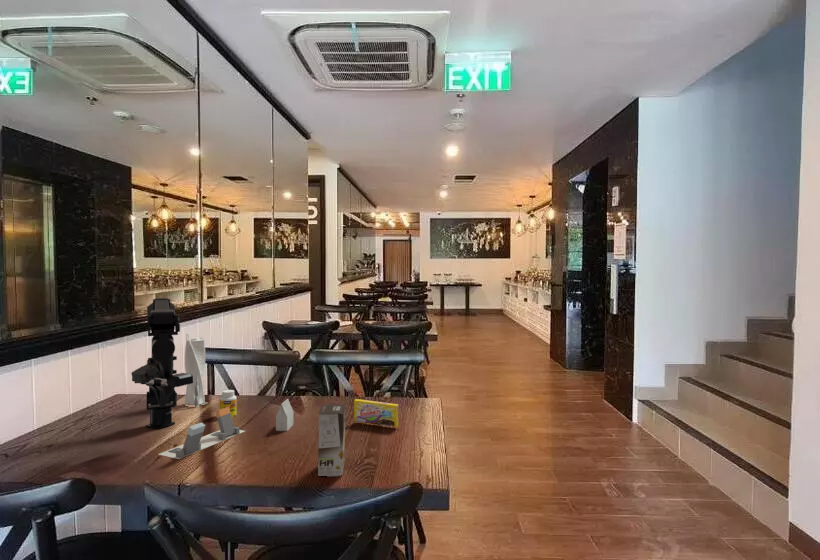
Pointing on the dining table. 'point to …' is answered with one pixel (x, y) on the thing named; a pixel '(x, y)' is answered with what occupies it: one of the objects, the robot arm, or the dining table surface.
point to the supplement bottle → (229, 401)
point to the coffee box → (331, 440)
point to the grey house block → (284, 417)
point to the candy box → (376, 412)
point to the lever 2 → (225, 421)
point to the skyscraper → (195, 370)
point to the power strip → (201, 443)
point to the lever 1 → (193, 438)
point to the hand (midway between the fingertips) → (162, 406)
